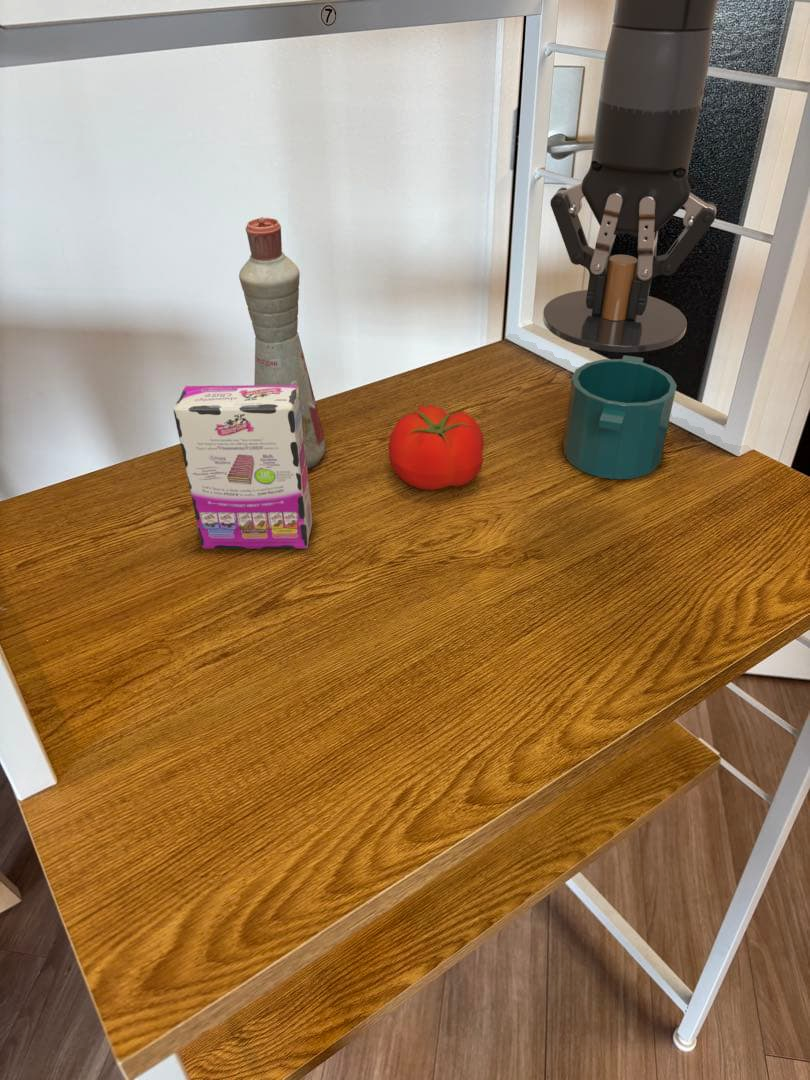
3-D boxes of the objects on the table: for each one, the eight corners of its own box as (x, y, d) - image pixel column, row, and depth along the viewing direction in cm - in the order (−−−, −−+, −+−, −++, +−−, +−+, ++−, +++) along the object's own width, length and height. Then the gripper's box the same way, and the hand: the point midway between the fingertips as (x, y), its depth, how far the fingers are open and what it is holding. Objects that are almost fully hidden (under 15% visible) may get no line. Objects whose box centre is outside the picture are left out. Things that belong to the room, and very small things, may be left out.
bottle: (235, 460, 98) (198, 218, 81) (290, 430, 104) (266, 197, 87) (286, 486, 94) (258, 236, 77) (341, 453, 100) (326, 213, 82)
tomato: (370, 478, 95) (368, 421, 91) (433, 442, 101) (434, 387, 97) (440, 515, 89) (442, 456, 85) (502, 474, 96) (507, 417, 91)
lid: (689, 311, 77) (704, 244, 73) (677, 368, 67) (693, 295, 64) (556, 294, 80) (564, 229, 76) (528, 346, 71) (535, 275, 67)
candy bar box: (313, 521, 89) (301, 382, 79) (308, 550, 85) (294, 408, 75) (209, 521, 89) (183, 382, 79) (199, 550, 85) (171, 408, 75)
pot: (668, 428, 104) (683, 357, 98) (650, 500, 91) (666, 424, 86) (577, 412, 107) (587, 344, 101) (549, 480, 95) (557, 406, 89)
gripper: (548, 98, 61) (527, 321, 72) (746, 112, 58) (692, 344, 68) (567, 81, 67) (545, 290, 78) (749, 92, 63) (699, 310, 74)
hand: (614, 314), depth 73 cm, fingers closed on lid, 2 cm apart
